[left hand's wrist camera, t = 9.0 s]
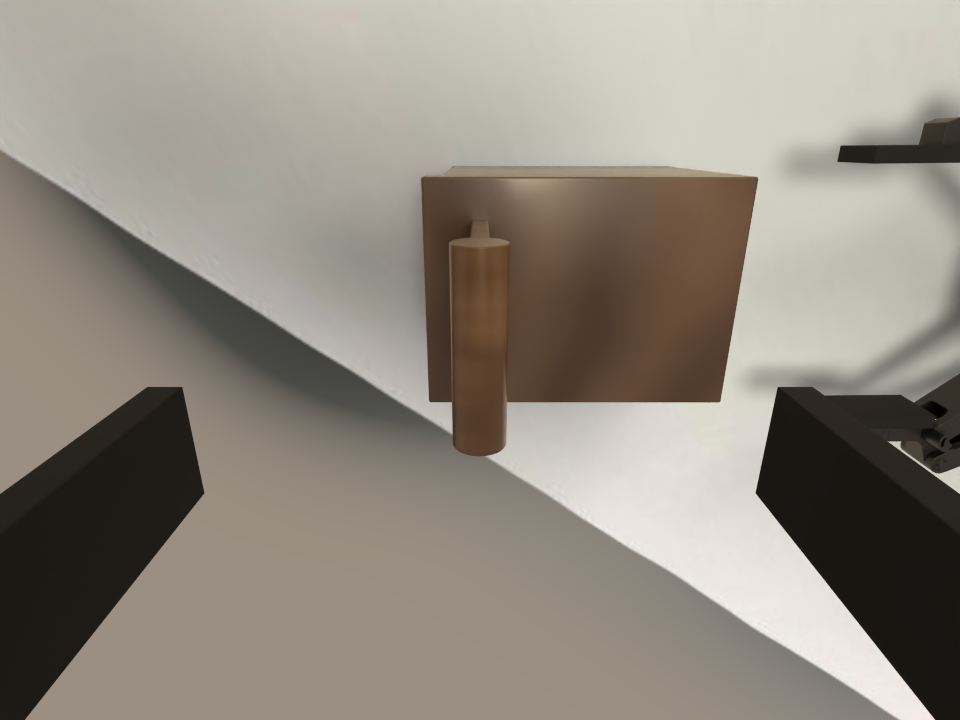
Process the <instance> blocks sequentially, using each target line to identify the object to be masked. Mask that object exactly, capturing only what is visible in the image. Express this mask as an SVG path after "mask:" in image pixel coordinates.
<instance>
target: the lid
mask: <svg viewBox="0 0 960 720" xmlns="http://www.w3.org/2000/svg"><path fill="white" fill-rule="evenodd" d="M757 182H758V178H757V177H753V176H424V177H422V178H421V187H422V215H423V243H424V271H425V298H426V326H427V354H428V382H429V401H430V402H452V418H453V445H454V447H455V448H456V449H457V450H458V451H460V452H462V453H464V454H467V455H472V456H487V455H492V454H495V453H498V452H499V451H501V450H502V449H503V448H504V447H505V445H506V422H507V402H720V400H721V394H722V388H723V382H724V376H725V370H726V365H727V359H728V353H729V347H730V341H731V335H732V329H733V323H734V317H735V312H736V306H737V300H738V294H739V288H740V282H741V276H742V270H743V265H744V259H745V253H746V247H747V241H748V235H749V229H750V223H751V218H752V212H753V206H754V200H755V194H756V188H757Z"/></svg>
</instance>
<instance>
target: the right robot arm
mask: <svg viewBox="0 0 960 720" xmlns="http://www.w3.org/2000/svg"><path fill="white" fill-rule="evenodd" d="M837 162H853V163H960V118H943V119H935V120H932V121H930V122H927V123H925V124H924V128H923V131H922V135H921V139H920V143H919V145H861V146H841V147H840V152H839V157H838V161H837ZM826 397H827V398H828V399H830V400H831V401H832V402H834V403H835V404H837V405H838V406H839V407H841V408H842V409H843V410H845V411H846V412H848V413H849V414H850V415H852V416H853V417H854V418H856V419H857V420H859V421H860V422H861V423H863V424H864V425H865V426H867V427H868V428H870V429H871V430H872V431H874V432H875V433H876V434H878V435H879V436H881V437H882V438H883V439H885V440H886V441H901V448H902V450H904V451H905V452H907V453H908V454H909V455H911V456H912V457H913V458H915V459H916V460H918V461H919V462H920V463H922V464H923V465H924V466H926V467H927V468H929V469H930V470H931V471H933V472H935V473H943V472H946V471H949V470H951V469H954V468H956V467H959V466H960V374H959V375H957V376H955V377H954V378H952V379H951V380H949V381H947V382H946V383H944V384H943V385H941V386H940V387H938V388H936V389H935V390H933V391H932V392H930V393H928V394H927V395H925V396H924V397H922V398H920V399H919V400H917V401H916V402H914V403H913V402H912V401H910V400H908V399H907V398H905V397H903V396H901V395H836V396H826ZM935 419H937V420H935Z"/></svg>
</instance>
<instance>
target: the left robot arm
mask: <svg viewBox="0 0 960 720" xmlns="http://www.w3.org/2000/svg"><path fill="white" fill-rule="evenodd" d="M203 494H204V489H203V484H202V480H201V475H200V470H199V465H198V460H197V456H196V451H195V446H194V441H193V436H192V432H191V427H190V422H189V417H188V412H187V408H186V403H185V398H184V393H183V389H182V387H147V388H146V389H144V390H143V391H141V392H140V393H139V394H137V395H136V396H134V397H133V398H132V399H130V400H129V401H128V402H126V403H125V404H123V405H122V406H121V407H119V408H118V409H117V410H115V411H114V412H112V413H111V414H110V415H108V416H107V417H106V418H104V419H103V420H102V421H100V422H99V423H97V424H96V425H95V426H93V427H92V428H90V429H89V430H88V431H86V432H85V433H84V434H82V435H81V436H79V437H78V438H77V439H75V440H74V441H73V442H71V443H70V444H68V445H67V446H66V447H64V448H63V449H62V450H60V451H59V452H57V453H56V454H55V455H53V456H52V457H51V458H49V459H48V460H46V461H45V462H44V463H42V464H41V465H40V466H38V467H37V468H35V469H34V470H33V471H31V472H30V473H29V474H27V475H26V476H25V477H23V478H22V479H20V480H19V481H18V482H16V483H15V484H13V485H12V486H11V487H9V488H8V489H7V490H5V491H4V492H2V493H1V494H0V720H25V719H26V718H27V716H28V715H29V714H30V713H31V711H32V710H33V709H34V707H35V706H36V705H37V704H38V702H39V701H40V700H41V699H42V697H43V696H44V695H45V694H46V692H47V691H48V690H49V689H50V687H51V686H52V685H53V683H54V682H55V681H56V680H57V678H58V677H59V676H60V675H61V673H62V672H63V671H64V670H65V668H66V667H67V666H68V665H69V663H70V662H71V661H72V659H73V658H74V657H75V656H76V654H77V653H78V652H79V651H80V649H81V648H82V647H83V646H84V644H85V643H86V642H87V641H88V639H89V638H90V637H91V636H92V634H93V633H94V632H95V631H96V629H97V628H98V627H99V625H100V624H101V623H102V622H103V620H104V619H105V618H106V617H107V615H108V614H109V613H110V612H111V610H112V609H113V608H114V607H115V605H116V604H117V603H118V601H119V600H120V599H121V598H122V596H123V595H124V594H125V593H126V591H127V590H128V589H129V588H130V586H131V585H132V584H133V583H134V581H135V580H136V579H137V577H138V576H139V575H140V574H141V572H142V571H143V570H144V569H145V567H146V566H147V565H148V564H149V562H150V561H151V560H152V559H153V557H154V556H155V555H156V554H157V552H158V551H159V550H160V548H161V547H162V546H163V545H164V543H165V542H166V541H167V540H168V538H169V537H170V536H171V535H172V533H173V532H174V531H175V530H176V528H177V527H178V526H179V525H180V523H181V522H182V521H183V519H184V518H185V517H186V516H187V514H188V513H189V512H190V511H191V509H192V508H193V507H194V505H195V504H196V503H197V502H198V501H199V499H200V498H201V497H202V495H203ZM756 494H757V495H758V497H759V498H760V499H761V501H762V502H763V503H764V504H765V506H766V507H767V508H768V509H769V511H770V512H771V513H772V514H773V516H774V517H775V518H776V519H777V521H778V522H779V523H780V525H781V526H782V527H783V528H784V530H785V531H786V532H787V533H788V535H789V536H790V537H791V538H792V540H793V541H794V542H795V543H796V545H797V546H798V547H799V548H800V550H801V551H802V552H803V554H804V555H805V556H806V557H807V559H808V560H809V561H810V562H811V564H812V565H813V566H814V567H815V569H816V570H817V571H818V572H819V574H820V575H821V576H822V578H823V579H824V580H825V581H826V583H827V584H828V585H829V586H830V588H831V589H832V590H833V591H834V593H835V594H836V595H837V596H838V598H839V599H840V600H841V601H842V603H843V604H844V605H845V607H846V608H847V609H848V610H849V612H850V613H851V614H852V615H853V617H854V618H855V619H856V620H857V622H858V623H859V624H860V625H861V627H862V628H863V629H864V631H865V632H866V633H867V634H868V636H869V637H870V638H871V639H872V641H873V642H874V643H875V644H876V646H877V647H878V648H879V649H880V651H881V652H882V653H883V654H884V656H885V657H886V658H887V660H888V661H889V662H890V663H891V665H892V666H893V667H894V668H895V670H896V671H897V672H898V673H899V675H900V676H901V677H902V678H903V680H904V681H905V682H906V684H907V685H908V686H909V687H910V689H911V690H912V691H913V692H914V694H915V695H916V696H917V697H918V699H919V700H920V701H921V702H922V704H923V705H924V706H925V707H926V709H927V710H928V711H929V713H930V714H931V715H932V716H933V718H934V719H935V720H960V494H959V493H958V492H956V491H955V490H953V489H952V488H951V487H949V486H948V485H947V484H945V483H944V482H942V481H941V480H940V479H938V478H937V477H936V476H934V475H933V474H931V473H930V472H929V471H927V470H926V469H925V468H923V467H922V466H920V465H919V464H918V463H916V462H915V461H914V460H912V459H911V458H909V457H908V456H907V455H905V454H904V453H903V452H901V451H900V450H898V449H897V448H896V447H894V446H893V445H892V444H890V443H889V442H887V441H886V440H885V439H883V438H882V437H881V436H879V435H878V434H876V433H875V432H874V431H872V430H871V429H870V428H868V427H867V426H865V425H864V424H863V423H861V422H860V421H859V420H857V419H856V418H854V417H853V416H852V415H850V414H849V413H848V412H846V411H845V410H843V409H842V408H841V407H839V406H838V405H837V404H835V403H834V402H832V401H831V400H830V399H828V398H827V397H826V396H824V395H823V394H821V393H820V392H819V391H817V390H816V389H814V388H813V387H778V389H777V393H776V398H775V403H774V408H773V412H772V417H771V422H770V427H769V432H768V436H767V441H766V446H765V451H764V456H763V460H762V465H761V470H760V475H759V480H758V484H757V489H756Z"/></svg>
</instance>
